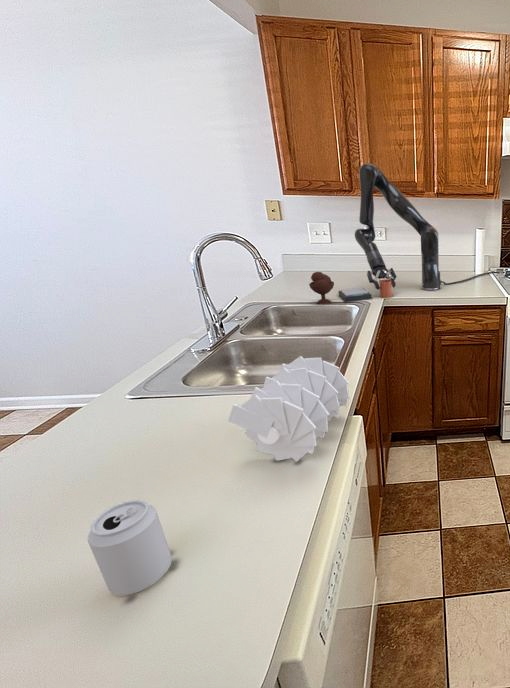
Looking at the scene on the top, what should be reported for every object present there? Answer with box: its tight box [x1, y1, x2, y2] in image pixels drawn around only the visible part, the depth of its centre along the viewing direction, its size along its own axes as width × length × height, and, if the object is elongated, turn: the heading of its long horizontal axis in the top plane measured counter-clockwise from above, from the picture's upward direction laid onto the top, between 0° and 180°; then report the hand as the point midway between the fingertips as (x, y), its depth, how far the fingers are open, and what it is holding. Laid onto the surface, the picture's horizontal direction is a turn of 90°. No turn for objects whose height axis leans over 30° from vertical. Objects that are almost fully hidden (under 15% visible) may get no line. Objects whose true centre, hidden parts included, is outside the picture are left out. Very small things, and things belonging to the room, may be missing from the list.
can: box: [87, 499, 173, 597], centre depth 58 cm, size 8×8×12 cm
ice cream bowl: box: [308, 271, 335, 305], centre depth 188 cm, size 11×11×15 cm
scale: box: [337, 287, 373, 303], centre depth 199 cm, size 13×13×3 cm
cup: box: [378, 279, 393, 299], centre depth 202 cm, size 6×6×8 cm
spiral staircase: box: [227, 355, 350, 462], centre depth 90 cm, size 18×18×25 cm
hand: (386, 287), depth 201 cm, fingers open, 8 cm apart
